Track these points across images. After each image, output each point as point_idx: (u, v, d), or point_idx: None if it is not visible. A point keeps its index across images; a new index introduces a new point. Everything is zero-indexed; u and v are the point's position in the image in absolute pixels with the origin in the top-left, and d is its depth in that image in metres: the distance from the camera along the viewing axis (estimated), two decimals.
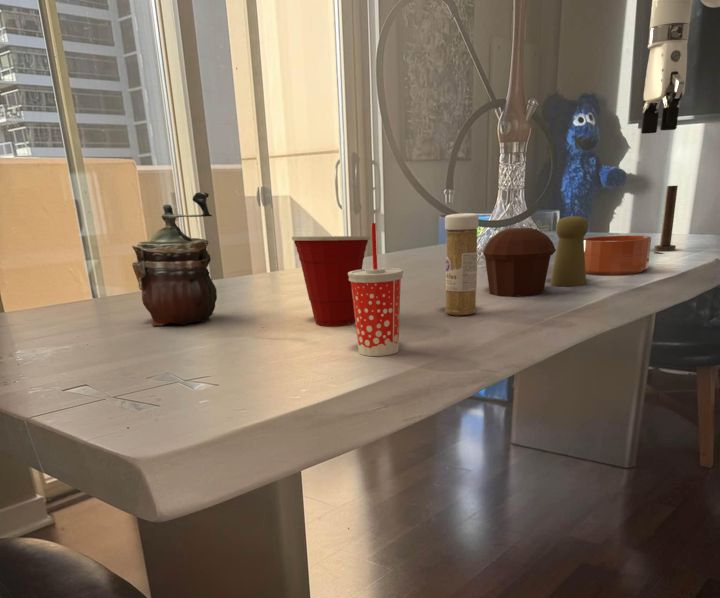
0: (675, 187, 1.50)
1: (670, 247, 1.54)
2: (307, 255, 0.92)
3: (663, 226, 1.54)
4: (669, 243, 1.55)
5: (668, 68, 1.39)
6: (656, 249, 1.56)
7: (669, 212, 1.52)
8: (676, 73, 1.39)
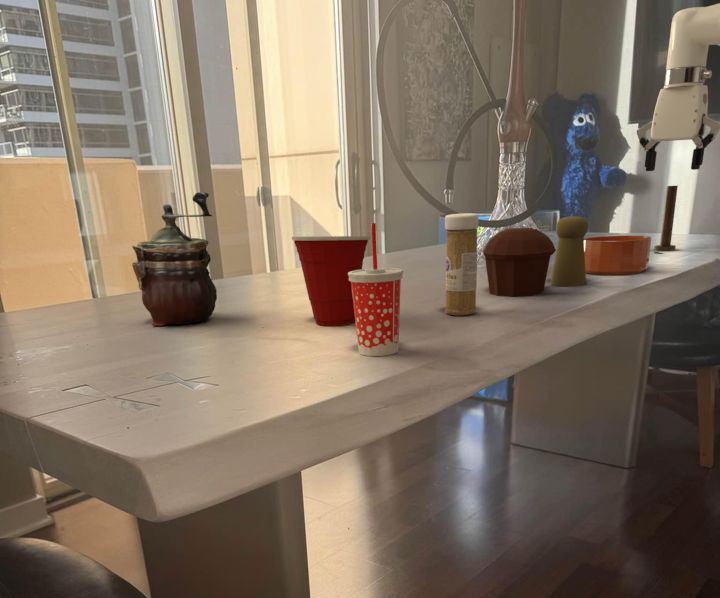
0: (675, 187, 1.50)
1: (670, 247, 1.54)
2: (307, 255, 0.92)
3: (663, 226, 1.54)
4: (669, 243, 1.55)
5: (701, 110, 1.42)
6: (656, 249, 1.56)
7: (669, 212, 1.52)
8: (704, 115, 1.43)
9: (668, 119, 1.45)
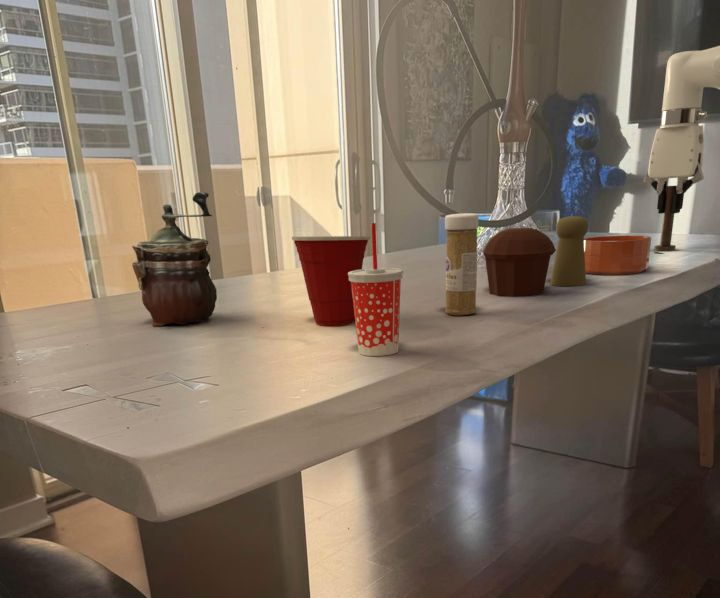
0: (675, 187, 1.50)
1: (670, 247, 1.54)
2: (307, 255, 0.92)
3: (663, 226, 1.54)
4: (669, 243, 1.55)
5: (697, 150, 1.44)
6: (656, 249, 1.56)
7: (669, 212, 1.52)
8: (698, 159, 1.46)
9: (665, 158, 1.48)
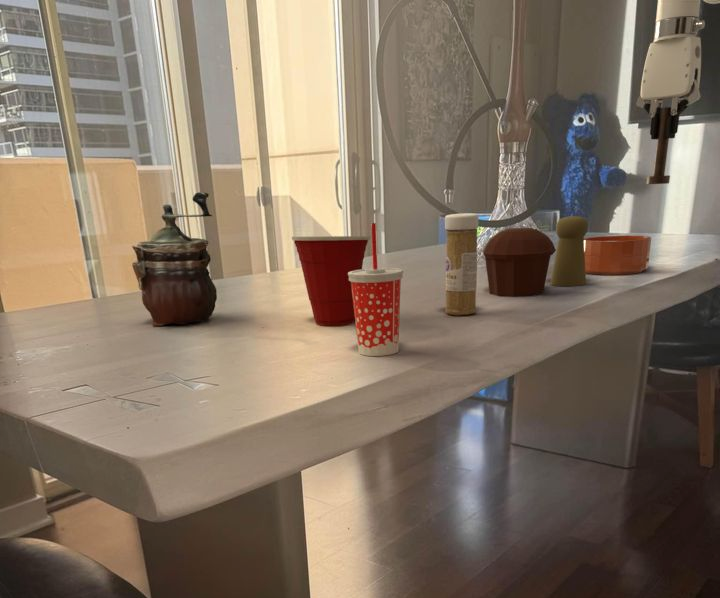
0: (669, 109, 1.37)
1: (664, 176, 1.41)
2: (307, 255, 0.92)
3: (656, 154, 1.41)
4: (663, 172, 1.42)
5: (693, 64, 1.31)
6: (648, 179, 1.43)
7: (663, 137, 1.39)
8: (694, 76, 1.33)
9: (658, 75, 1.35)
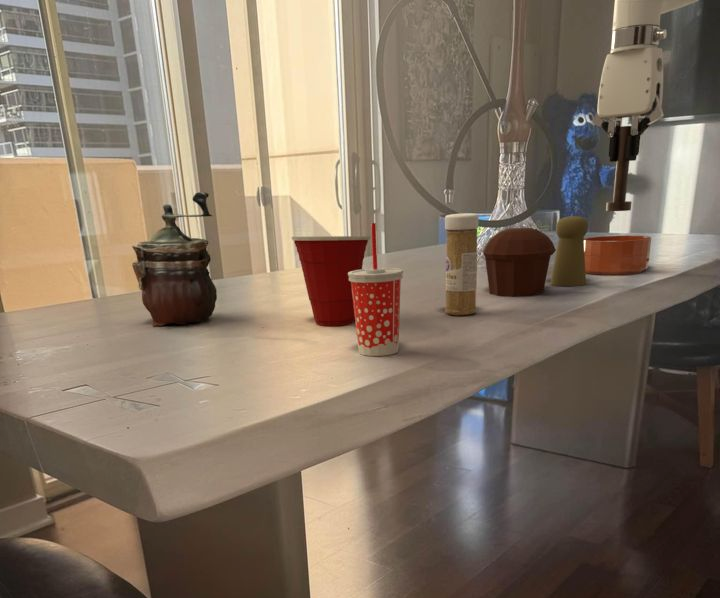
0: (630, 128, 1.22)
1: (624, 203, 1.26)
2: (307, 255, 0.92)
3: (616, 177, 1.26)
4: (623, 198, 1.27)
5: (655, 78, 1.16)
6: (608, 206, 1.28)
7: (623, 160, 1.24)
8: (656, 92, 1.18)
9: (616, 91, 1.20)
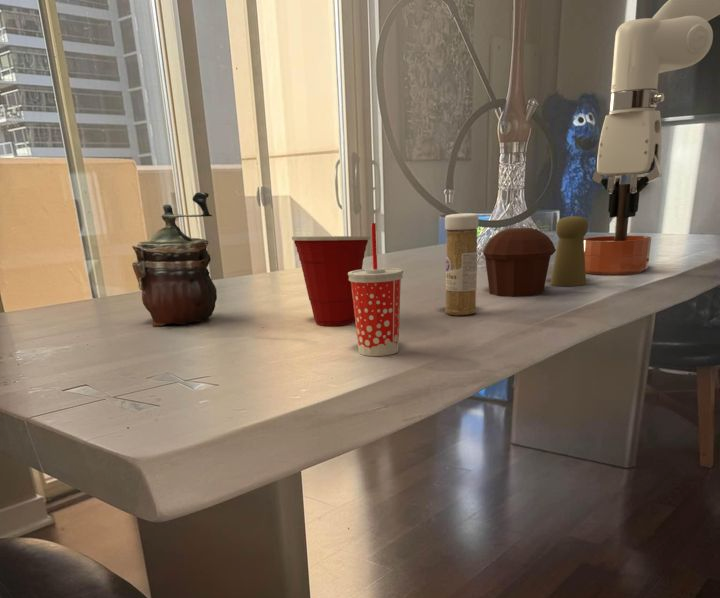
0: (628, 186, 1.25)
1: None
2: (307, 255, 0.92)
3: (616, 233, 1.28)
4: None
5: (653, 140, 1.19)
6: None
7: (622, 216, 1.27)
8: (654, 152, 1.21)
9: (615, 150, 1.22)
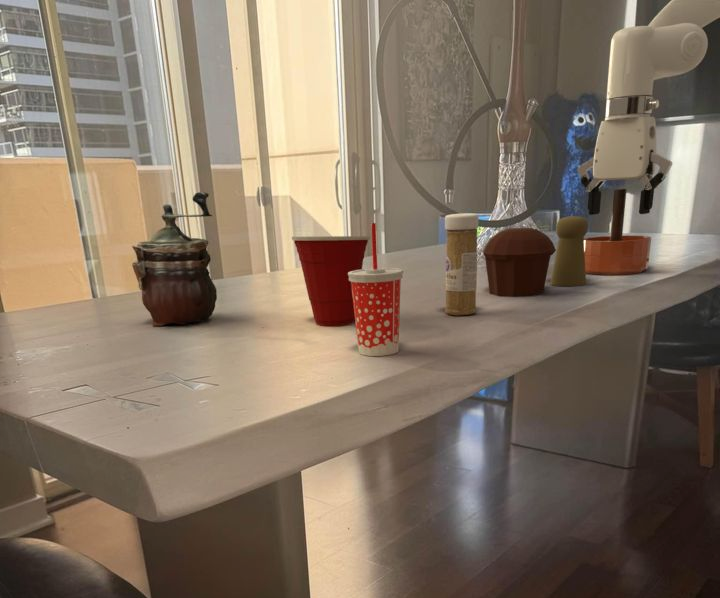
0: (623, 191, 1.26)
1: None
2: (307, 255, 0.92)
3: (611, 237, 1.30)
4: None
5: (648, 146, 1.20)
6: None
7: (617, 221, 1.28)
8: (652, 151, 1.22)
9: (611, 156, 1.24)
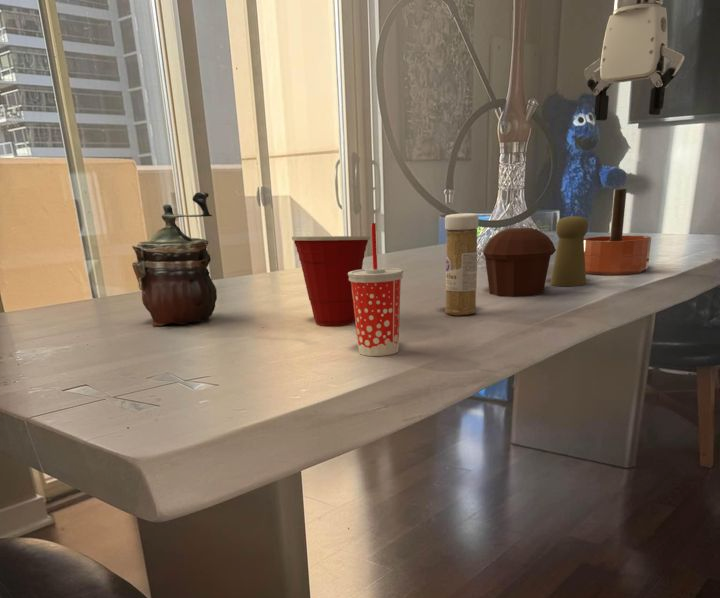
0: (623, 191, 1.26)
1: None
2: (307, 255, 0.92)
3: (611, 237, 1.30)
4: None
5: (659, 39, 1.14)
6: None
7: (617, 221, 1.28)
8: (663, 46, 1.15)
9: (619, 52, 1.18)
